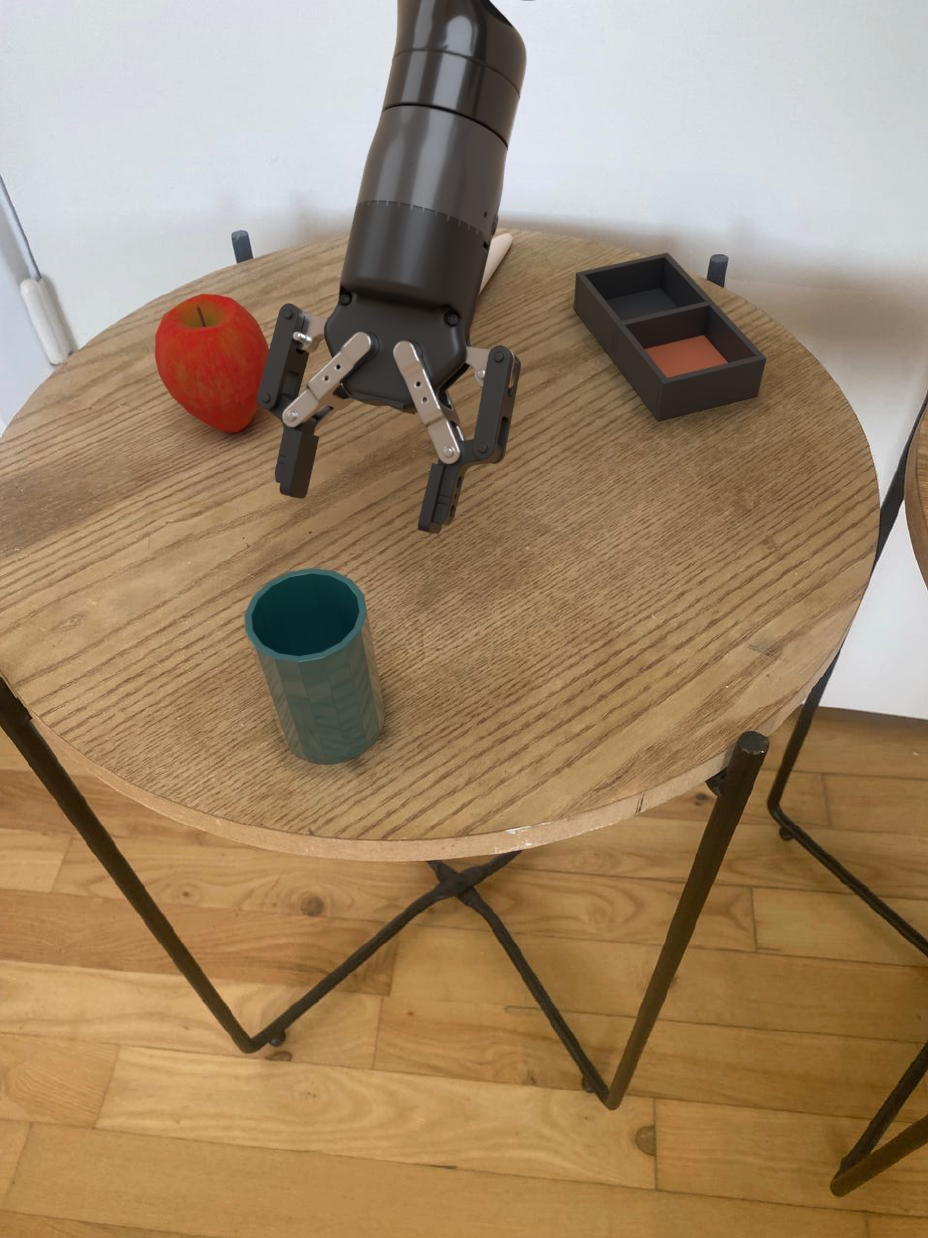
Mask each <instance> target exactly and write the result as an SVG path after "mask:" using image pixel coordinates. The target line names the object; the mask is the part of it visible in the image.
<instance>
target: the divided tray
mask: <svg viewBox="0 0 928 1238" xmlns="http://www.w3.org/2000/svg"><path fill="white" fill-rule="evenodd" d="M573 310H574V312H575V313H576V314H577V315H578V318H580V320H581V321H582V322H583V324H584V325H585V326H586V327H587V329H588V331H589V332H590V333H591V334H592V335H593V337H594V339H595V340H596V341H597V342H598V344H599V345H600V346H601V348H602V349H603V351H605V353H606V354H607V356H608V357H609V358H610V360H611V361H612V362H613V364H614V365H615V367H616V368H617V369H618V370H619V372H620V373H621V374H622V375H623V377H624V378H625V379H626V381H627V382H628V384H629V385H630V386H631V388H632V389H633V390H634V391H635V393H636V394H637V396H638V397H639V398H640V400H641V401H642V402H643V403H644V405H645V406H646V407H647V409H648V410H649V411H650V413H651V414H652V415H653V417H654V418H655V419H656V421H657V422H662V421H665V420H670V419H673V418H676V417H681V416H684V415H688V414H693V413H696V412H700V411H704V410H708V409H712V408H716V407H720V406H724V405H728V404H731V403H736V402H740V401H744V400H748V399H751V398H757V397H758V396H759V392H760V388H761V387H760V386H761V384H762V380H763V375H764V371H765V367H766V363H767V362H766V361H767V357H766V356H765V354H763V352H761V351H760V349H759V348H758V347H757V346H756V345H755V344H754V343H753V342H752V340H751V339H749V338H748V337H747V335H745V333H744V332H743V331H742V330H741V329H740V327H738V325H737V324H736V323H735V322H734V321H733V320H731V318H730V317H729V316H728V314H726V313H725V312H724V310H723V309H722V308H721V307H719V306H718V304H716V302H715V301H714V300H713V299H712V298H711V297H710V296H709V295H708V294H707V292H705V290H704V289H703V288H702V287H701V286H700V285H699V284H698V283H697V282H696V281H695V280H694V279H693V278H692V277H691V276H690V275H689V273H688V272H687V271H686V270H685V269H684V268H683V267H682V266H681V265H680V263H678V261H677V260H675V258H674V257H673V256H672V255H671V254H670V253H669V252H664V253H658V254H654V255H650V256H649V255H648V256H646V257H641V258H636V259H631V260H626V261H623V262H617V263H613V264H608V265H605V266H600V267H595V268H590V269H587V270H582V271H576V272H575V281H574V299H573Z"/></svg>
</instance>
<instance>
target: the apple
mask: <svg viewBox="0 0 928 1238" xmlns="http://www.w3.org/2000/svg"><path fill="white" fill-rule="evenodd" d="M268 343H269V342H268V341H267V339H266V336H265V335H264V333H263V330H262V329H261V326H260V324H259V322H258V320H257V319H256V318H255V317H254V316H253V314H252V313H250V312H249V311H248V310H247V308H245V307H244V306H242V305H241V304H240V303H239V302H238V301H236V300H235V299H234V298H233V297H229V296H225V295H221V294H213V293H200V294H198V295H194V296H191V297H189V298H188V299H186V300H184V301H181V302H180V303H178V304H177V305H176V306H174V307H173V308H171V309H170V310H168V311H167V312H165V313H163V315H162V318H161V320H160V323H159V325H158V327H157V329H156V331H155V335H154V361H155V364H156V365H155V366H156V368H157V372H158V376H159V377H160V380H161V382H162V383H163V385H164V387H165V389H166V390H167V392H168V393H169V395H170V396H171V397H172V398H173V399H174V400H175V401H176V403H178V404H179V405H180V406H181V407H182V408H183V409H184V410H185V411H186V412H187V413H189V414H190V415H191V416H192V417H194V418H196V419H197V420H199V421H200V422H202V423H204V424H206V425H207V426H209V427H212V428H213V429H217V430H219V431H221V432H224V433H228V434H233V433H239V432H240V431H242V430H244V429H246V427H248V425H249V424H250V423H251V421H252V419H253V418H254V416H255V415H256V413H257V411H258V410H259V408H260V406H259V405H258V403H257V394H258V390H259V387H260V383H261V379H262V375H263V371H264V368H265V364H266V360H267V356H268V352H269V349H270V346H269V344H268Z"/></svg>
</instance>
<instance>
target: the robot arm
mask: <svg viewBox="0 0 928 1238" xmlns="http://www.w3.org/2000/svg"><path fill="white" fill-rule="evenodd" d="M521 1H523V2H532V1H535V0H521ZM395 37H396V38H395V45H394V49H393V54H392V59H391V65H390V69H389V73H388V78H387V83H386V88H385V92H384V97H383V103H382V107H381V111H380V115H379V119H378V123H377V126H376V129H375V132H374V135H373V138H372V141H371V143H370V146H369V149H368V151H367V155H366V159H365V162H364V166H363V171H362V176H361V181H360V185H359V190H358V194H357V200H356V205H355V208H354V213H353V218H352V223H351V227H350V232H349V236H348V241H347V246H346V251H345V255H344V260H343V264H342V269H341V274H340V279H339V287H338V289H339V290H338V301H337V302H336V303H337V304H336V306H335V308H334V309H333V311H332V312H331V313H330V315H329V316H328V317H325V316H323V315H322V316H321V315H317V314H313V313H310V312H308V311H306V310H304V309H303V308H301V307H299V306H297V305H296V304H293V303H289V302H288V303H285V304H283V305H282V306H281V307H280V308H279V311H278V315H277V318H276V322H275V326H274V330H273V334H272V338H271V341H270V346H269V352H268V356H267V360H266V364H265V368H264V371H263V375H262V379H261V383H260V387H259V390H258V394H257V403H258V405H259V408H261V409H262V410H265V411H267V412H268V413H271V414H272V415H274V417H276V418H278V419H279V420H280V422H281V424H282V428H283V429H282V430H283V431H282V434H281V440H280V445H279V448H278V449H279V450H278V456H277V459H276V465H275V469H274V479H275V483H277V484H279V493H280V495H282V496H285V497H290V498H294V499H305V497H307V495H308V492H309V487H310V482H311V478H312V473H313V468H314V465H315V459H316V456H317V455H316V454H317V450H318V445H319V442H320V436H318V435H315V432H317V431H318V430H319V429H320V428H321V427H322V426H323V425H324V424H326V422H327V421H328V420H329V419H331V418H332V417H333V415H335V414H336V413H337V412H339V411H342V410H344V409H345V408H348V407H349V405H350V404H351V403H352V402H354V401H358V402H360V403H362V404H365V405H368V406H373V407H390V408H393V409H394V410H397V411H399V412H401V413H405V414H409V415H414V416H416V413H417V414H418V417H419V418H420V420H421V422H422V424H423V426H424V427H425V428H426V430H427V431H428V434H429V437H430V440H431V441H432V443H433V446H434V448H435V451H436V453H437V456H438V460H437V463H435V462H431V466H430V470H429V474H428V477H427V482H426V485H425V491H424V495H423V500H422V504H421V508H420V513H419V517H418V522H417V530H418V531H420V532H424V533H428V534H433V535H439V534H440V533H441V532H442V529H443V526H450V525H451V524H452V522H453V521H454V519H455V517H456V513H457V507H458V506H459V505H458V504H459V500H460V496H461V492H462V488H463V483H464V479H465V475H466V473H467V472H468V470H469V469H471V468H472V467H474V466H479V465H481V466H482V465H486V464H487V465H488V464H491V465H497V464H500V463H501V462H502V461H503V460H504V459H505V456H506V451H507V446H508V440H509V436H510V429H511V424H512V419H513V413H514V408H515V407H514V406H515V402H516V398H517V397H516V396H517V391H518V385H519V381H520V379H519V378H520V374H521V369H522V362H521V359H520V358H519V357H518V356H517V355H516V353H514V352H513V351H512V350H511V349H509V348H508V347H506V346H504V345H500V344H499V345H495V346H494V347H492V348H486V347H478V346H472V343H471V328H472V325H473V321H474V319H475V312H476V311H477V310H476V309H477V305H478V301H479V296H480V294H481V292H480V288H481V284H482V280H483V275H484V271H485V267H486V263H487V258H488V254H489V250H490V245H491V241H492V239H494V236H495V235H496V232H497V229H498V224H499V210H500V206H501V202H502V196H503V190H504V181H505V171H506V162H507V155H508V151H509V148H510V141H511V138H512V134H513V129H514V127H515V126H514V125H515V121H516V117H517V113H518V108H519V104H520V99H521V96H522V95H521V94H522V90H523V85H524V83H525V82H524V81H525V77H526V71H527V65H528V64H527V63H528V54H527V53H528V52H527V48H526V44H525V42H524V39H523V37H522V34H520V32H519V30H518V29H517V28H516V27H515V26H514V24H513V23H512V22H510V20H509V19H508V18H507V17H506V16H505V15H504V14H503V13H502V12H501V11H500V10H499V9H498V8H497V6H496V5H495V4H494V3H493V2H492V1H491V0H396V36H395ZM479 293H480V294H479ZM323 340H324V341H325V344H326V346H327V350H328V351H329V354H330V357H331V359H329V361H328V362H327V363H325V365H324V366H322V367H321V368H320V369H319V370H318V371H317V372H316V373H315V374H314V375H313V376H312V377H311V378H310V379H309V380H308V381H307V383H306V388H305V389H304V390H303V391H302V392H301V387H302V383H303V380H304V377H305V376H304V375H305V372H306V368H307V366H308V365H307V364H308V360H309V357H310V354H311V353H314V352H316V351H317V349H318V348H319V345H320V343H321V342H322V341H323ZM470 367H471V368H472V370H473V372H474V373H473V374H474V375H473V376H474V377H473V378H474V382H475V384H476V386H478V387H480V388H481V394H480V401H479V405H478V406H479V407H478V410H477V411H478V412H477V417H476V422H475V423H476V424H475V427H474V429H475V430H474V435H473V438H471V439H466V436H465V434H464V431H463V428H462V426H461V420H460V417H459V414H458V411H457V410H456V407H455V405H454V402H453V400H452V397H451V395H450V393H449V390H448V389H450V387H452V386H453V385H454V384H455V383H456V382H457V381H458V380H459V379H460V378H461V377H462V376H464V375H465V373H467V371H468V370H469V369H470Z"/></svg>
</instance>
